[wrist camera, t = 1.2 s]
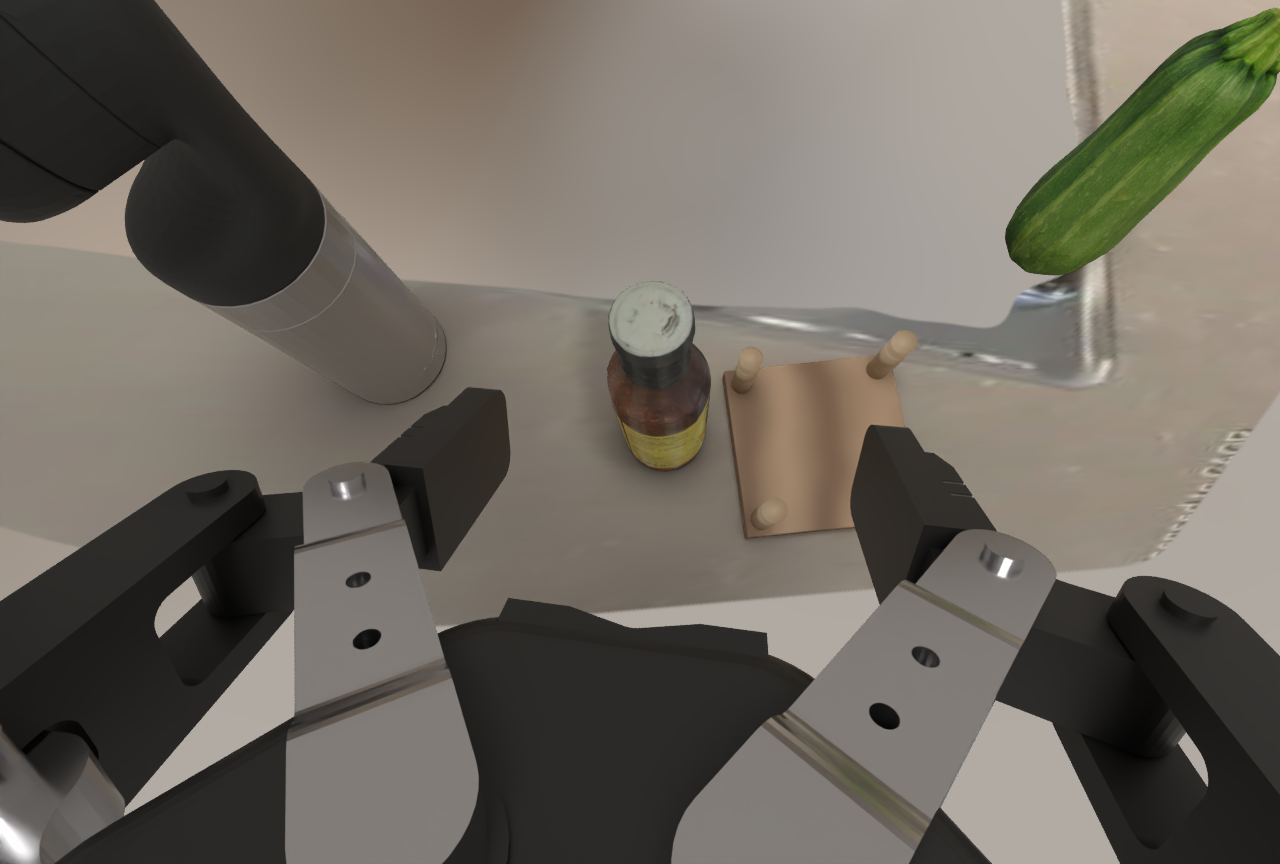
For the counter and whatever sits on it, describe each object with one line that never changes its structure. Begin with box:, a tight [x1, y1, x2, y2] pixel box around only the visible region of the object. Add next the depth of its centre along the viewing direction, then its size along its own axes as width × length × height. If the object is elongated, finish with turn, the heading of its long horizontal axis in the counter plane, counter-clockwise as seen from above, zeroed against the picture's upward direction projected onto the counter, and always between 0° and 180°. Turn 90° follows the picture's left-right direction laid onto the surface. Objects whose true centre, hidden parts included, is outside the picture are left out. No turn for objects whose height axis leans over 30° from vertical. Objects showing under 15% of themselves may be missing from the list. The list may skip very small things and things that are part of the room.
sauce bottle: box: [607, 281, 711, 471], centre depth 35 cm, size 7×6×20 cm
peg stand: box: [723, 330, 918, 538], centre depth 40 cm, size 13×13×7 cm
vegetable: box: [1005, 8, 1280, 275], centre depth 37 cm, size 7×7×20 cm
